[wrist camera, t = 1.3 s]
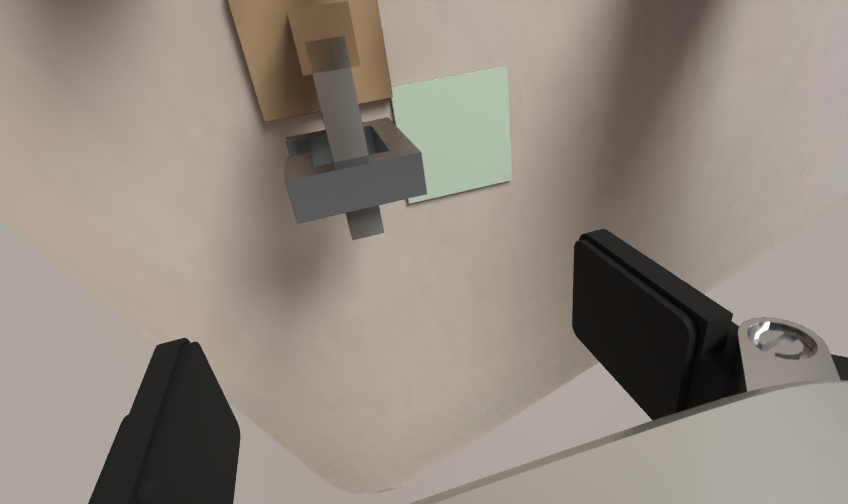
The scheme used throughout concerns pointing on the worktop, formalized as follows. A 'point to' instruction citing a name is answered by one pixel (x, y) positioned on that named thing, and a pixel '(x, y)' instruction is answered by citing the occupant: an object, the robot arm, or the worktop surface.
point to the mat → (458, 129)
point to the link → (352, 172)
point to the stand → (318, 70)
